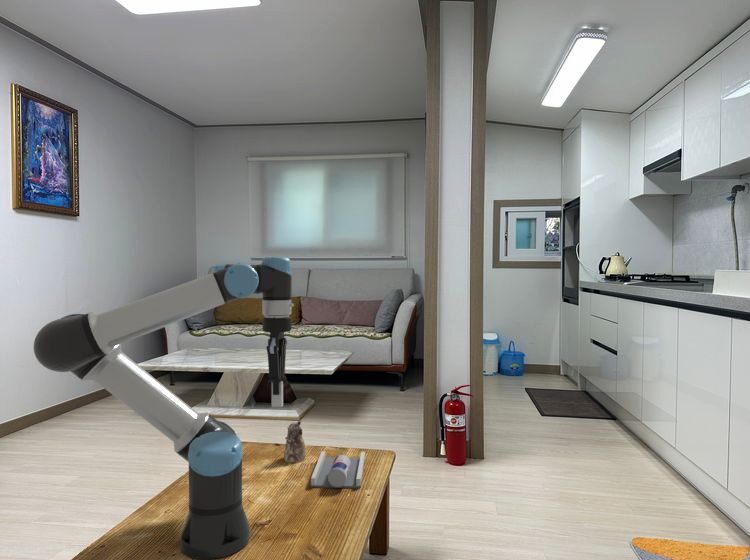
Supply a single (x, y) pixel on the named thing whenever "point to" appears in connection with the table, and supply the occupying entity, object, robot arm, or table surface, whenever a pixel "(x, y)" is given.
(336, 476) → the energy drink
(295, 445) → the figurine
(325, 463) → the tray
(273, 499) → the table surface
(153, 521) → the table surface
